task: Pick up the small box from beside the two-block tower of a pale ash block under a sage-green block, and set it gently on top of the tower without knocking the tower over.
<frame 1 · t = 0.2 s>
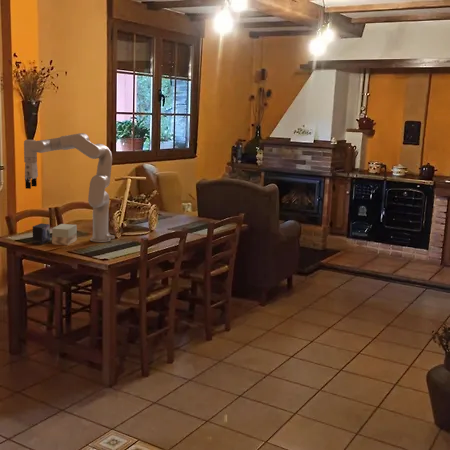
hand: (31, 187, 369), 31 cm above the table, tool pointing down, fingers open, 9 cm apart
small box: (41, 242, 361), on the table
tower base: (64, 242, 363), on the table, touching tower top
tower top: (64, 234, 362), point 5 cm above the table, touching tower base
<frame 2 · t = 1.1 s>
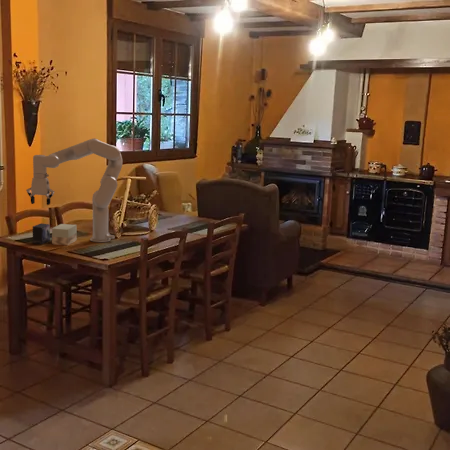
hand: (40, 204, 356), 23 cm above the table, tool pointing down, fingers open, 9 cm apart
nothing on the table moved.
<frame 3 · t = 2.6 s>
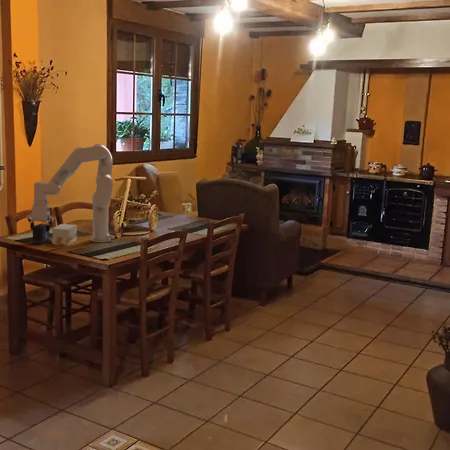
hand: (40, 230, 359), 7 cm above the table, tool pointing down, fingers open, 9 cm apart
tower base: (64, 242, 363), on the table
tower top: (64, 234, 362), point 5 cm above the table
everything else where it was.
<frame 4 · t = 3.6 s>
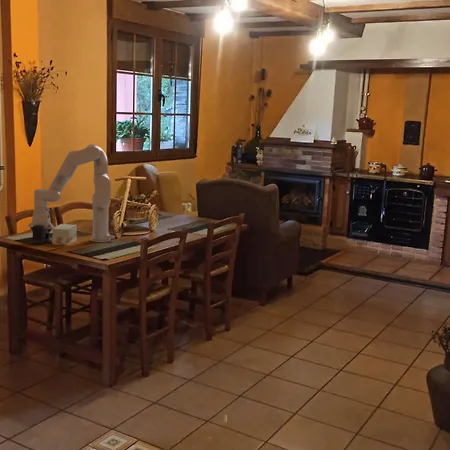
hand: (41, 238, 360), 2 cm above the table, tool pointing down, fingers closed on small box, 6 cm apart
small box: (41, 242, 361), on the table, touching gripper
tower base: (64, 242, 363), on the table, touching tower top
tower top: (64, 234, 362), point 5 cm above the table, touching tower base
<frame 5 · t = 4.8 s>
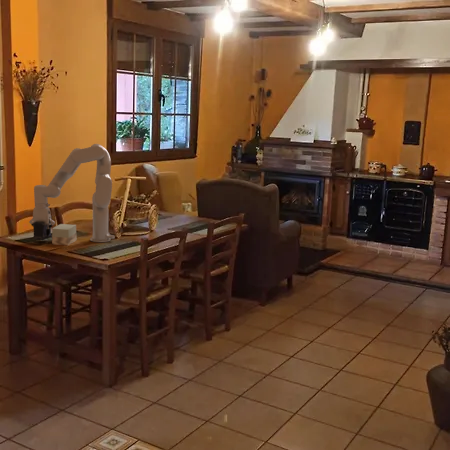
hand: (42, 234, 360), 5 cm above the table, tool pointing down, fingers closed on small box, 6 cm apart
small box: (42, 238, 360), point 2 cm above the table, touching gripper
everything else where it was.
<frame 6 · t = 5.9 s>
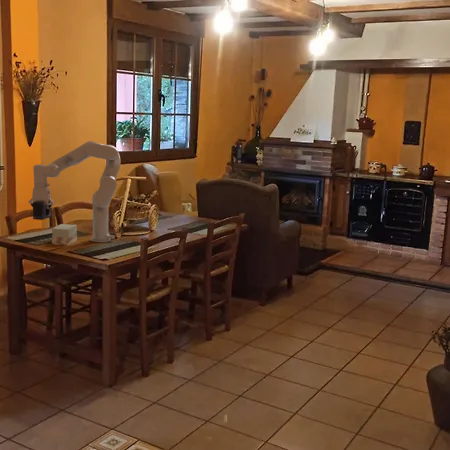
hand: (42, 214, 357), 17 cm above the table, tool pointing down, fingers closed on small box, 6 cm apart
small box: (42, 218, 358), point 14 cm above the table, touching gripper
everything else where it was.
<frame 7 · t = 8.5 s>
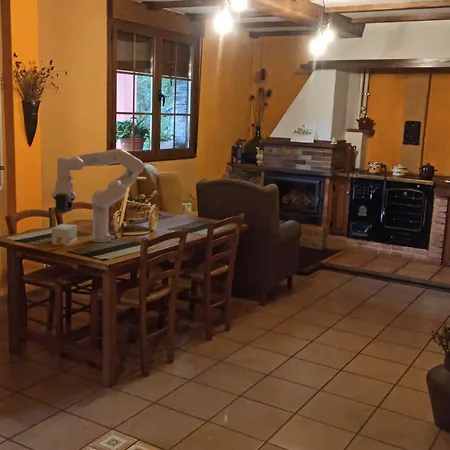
hand: (64, 207, 359), 21 cm above the table, tool pointing down, fingers closed on small box, 6 cm apart
small box: (64, 211, 359), point 19 cm above the table, touching gripper
everything else where it was.
when the fingers open (13 cm above the table, at t = 10.8 s): small box drops 1 cm, resting on tower top.
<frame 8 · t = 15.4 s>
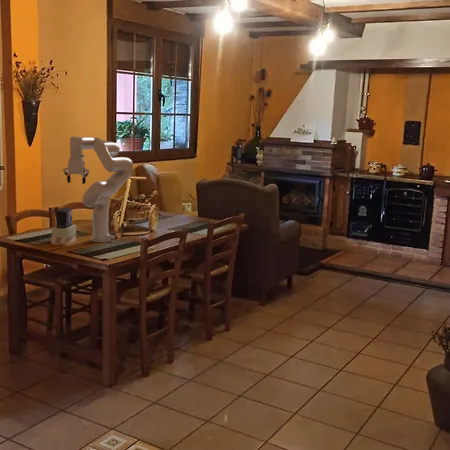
hand: (76, 183, 379), 33 cm above the table, tool pointing down, fingers open, 9 cm apart
small box: (64, 226, 361), point 10 cm above the table, touching tower top
tower top: (64, 234, 362), point 5 cm above the table, touching small box, tower base
everything else where it was.
at the end: small box 0.1 cm off-centre on the tower top, point 4.8 cm above the tower top's base; tower top 0.3 cm off-centre on the tower base, point 5.0 cm above the tower base's base; small box tilted 0° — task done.
